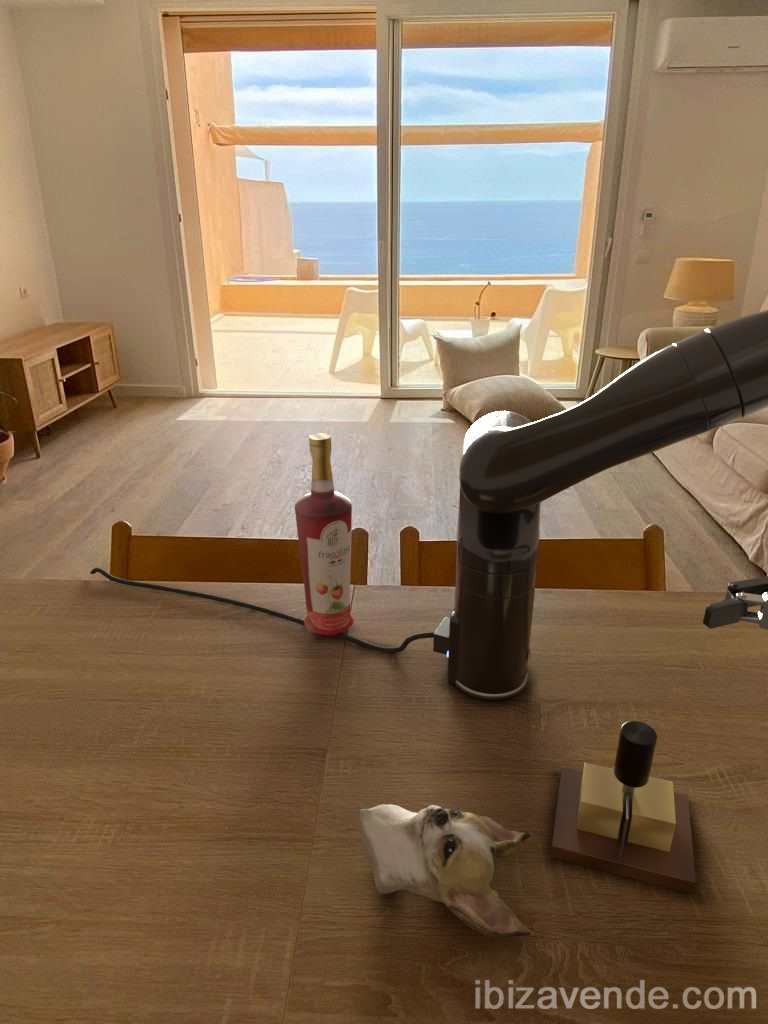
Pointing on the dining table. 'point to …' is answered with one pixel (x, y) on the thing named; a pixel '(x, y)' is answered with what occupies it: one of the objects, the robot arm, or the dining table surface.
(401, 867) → the ceramic sculpture
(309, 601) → the liquor
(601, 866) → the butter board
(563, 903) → the dining table surface
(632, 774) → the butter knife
